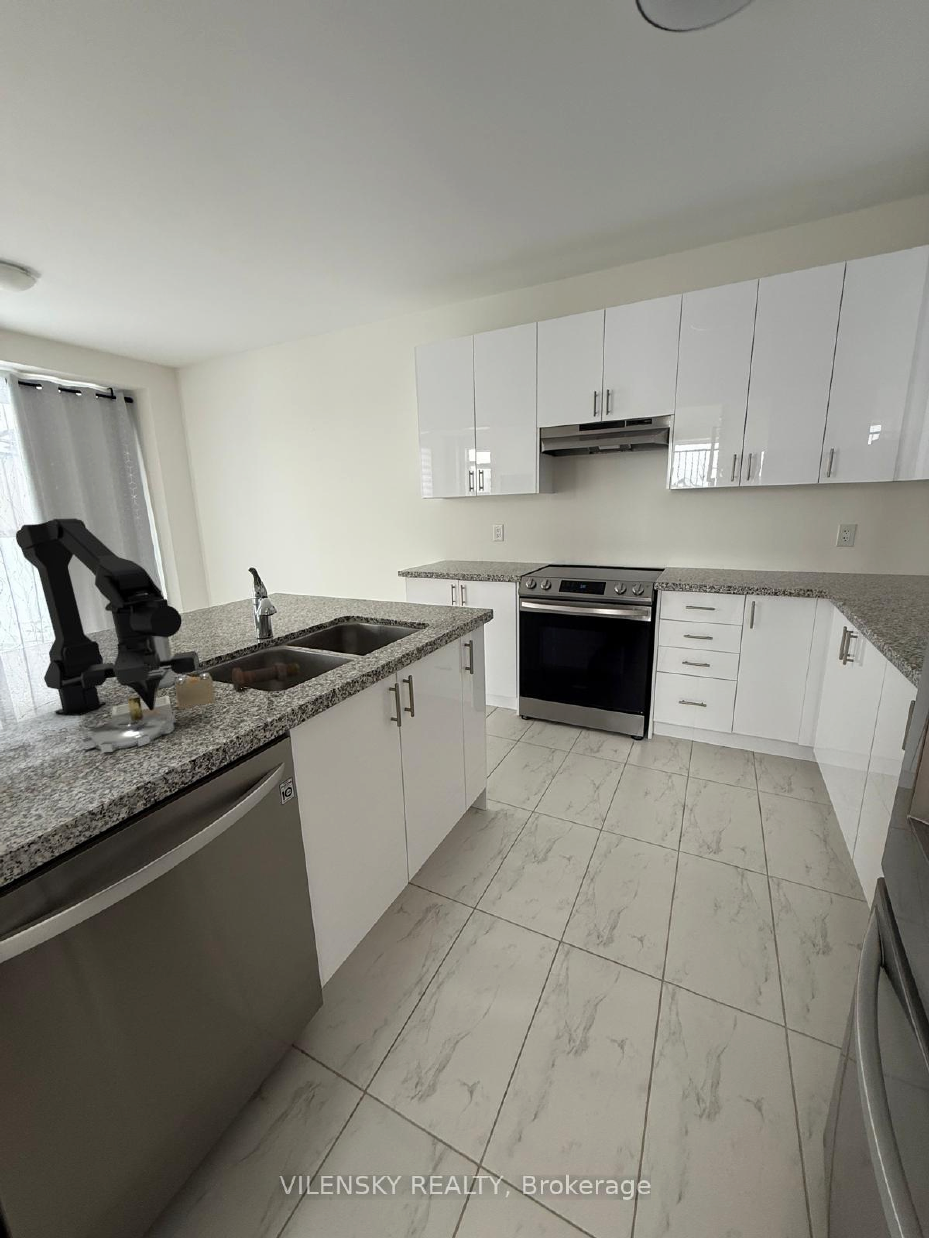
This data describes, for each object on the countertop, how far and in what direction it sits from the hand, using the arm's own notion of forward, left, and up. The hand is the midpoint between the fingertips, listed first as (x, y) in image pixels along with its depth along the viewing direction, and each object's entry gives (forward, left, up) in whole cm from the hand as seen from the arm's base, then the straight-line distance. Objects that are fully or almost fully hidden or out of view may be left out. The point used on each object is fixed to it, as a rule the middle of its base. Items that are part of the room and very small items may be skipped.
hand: (152, 709), depth 98 cm
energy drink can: (-18, +21, -3) cm, 28 cm away
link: (0, +11, -3) cm, 12 cm away
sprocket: (0, -5, -3) cm, 6 cm away
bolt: (+9, +25, -4) cm, 27 cm away
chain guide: (-6, +4, -3) cm, 8 cm away
